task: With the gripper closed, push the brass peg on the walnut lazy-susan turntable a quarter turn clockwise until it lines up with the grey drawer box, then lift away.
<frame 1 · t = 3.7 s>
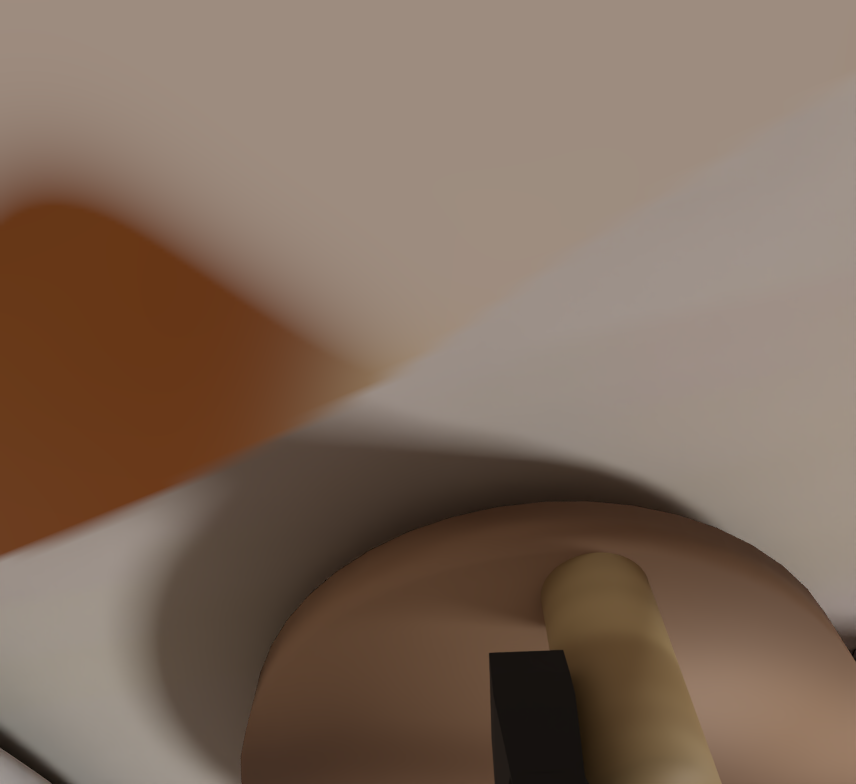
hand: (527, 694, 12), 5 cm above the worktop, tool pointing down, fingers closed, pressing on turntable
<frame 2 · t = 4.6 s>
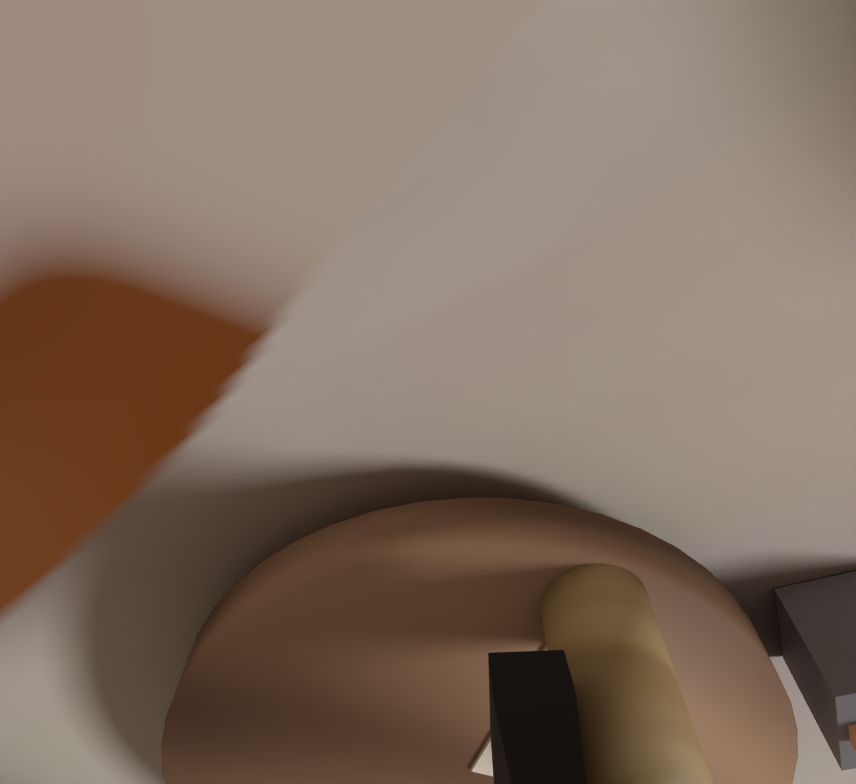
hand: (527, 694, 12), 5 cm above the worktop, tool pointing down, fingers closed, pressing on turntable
grey drawer box: (843, 610, 18), on the worktop
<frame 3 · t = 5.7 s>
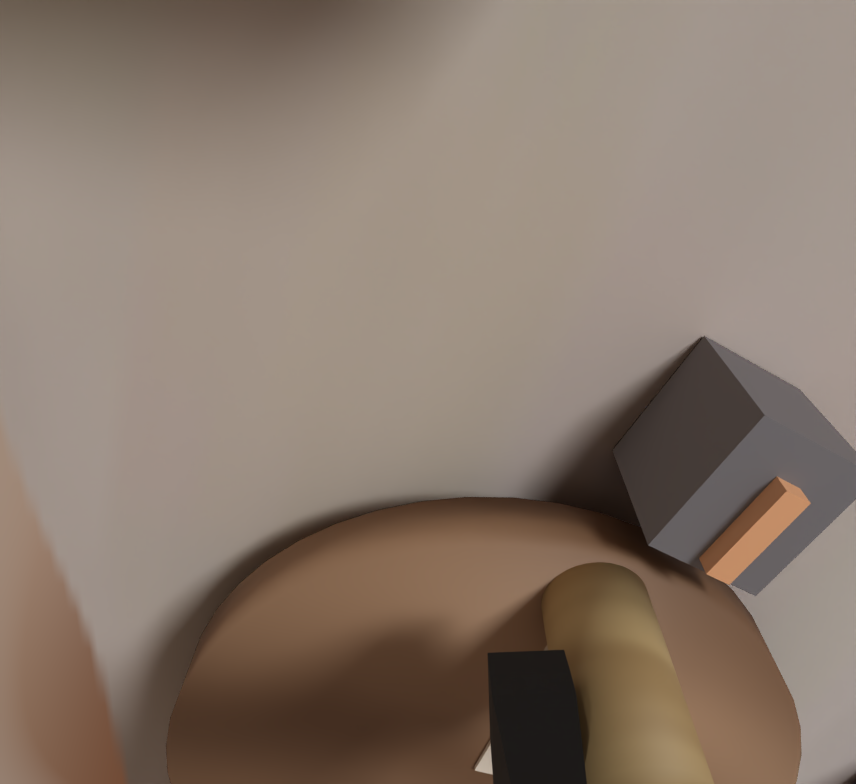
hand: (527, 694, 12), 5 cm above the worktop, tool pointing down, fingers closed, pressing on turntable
grey drawer box: (703, 420, 15), on the worktop
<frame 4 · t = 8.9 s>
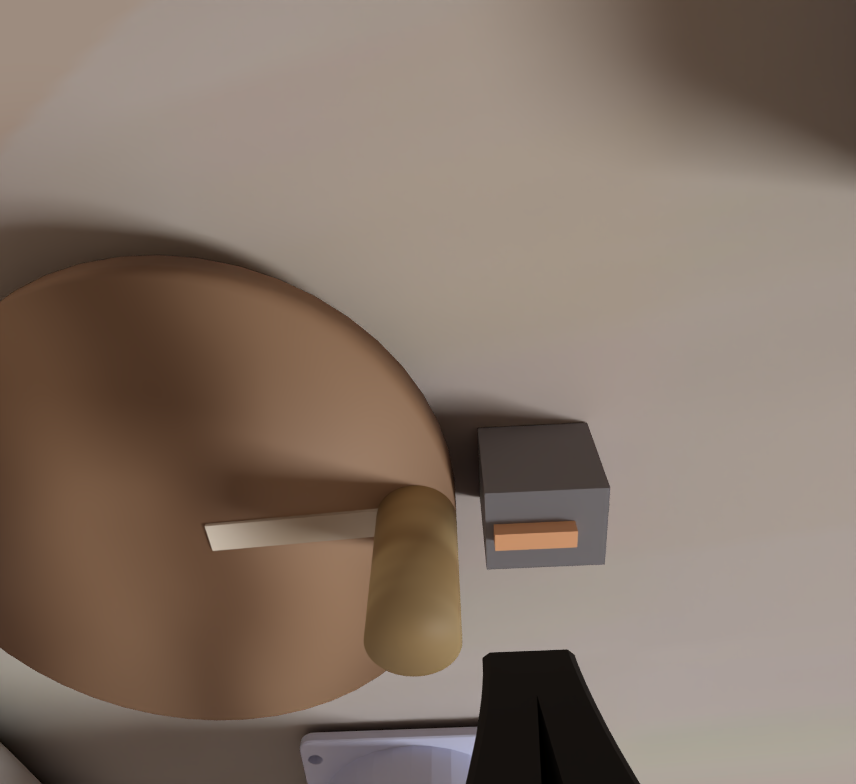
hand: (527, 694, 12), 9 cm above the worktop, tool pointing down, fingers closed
turntable: (167, 572, 18), point 4 cm above the worktop, hinge at -86.9°
grey drawer box: (531, 461, 21), on the worktop
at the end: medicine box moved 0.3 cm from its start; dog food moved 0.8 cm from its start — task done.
